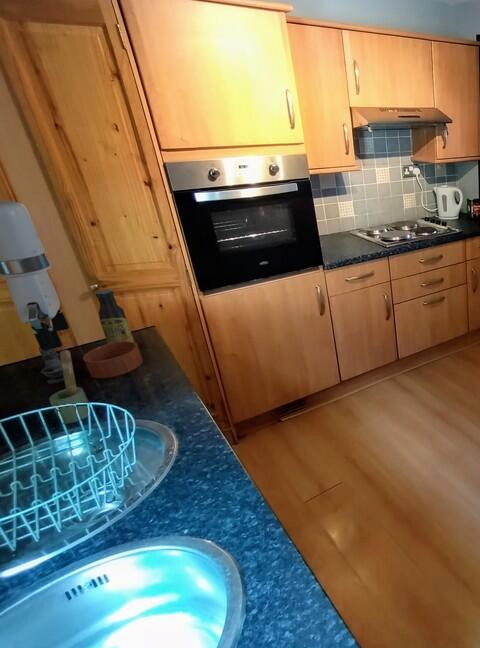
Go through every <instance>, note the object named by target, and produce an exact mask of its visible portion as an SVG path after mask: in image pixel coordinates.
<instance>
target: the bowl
mask: <svg viewBox="0 0 480 648" xmlns="http://www.w3.org/2000/svg"><path fill="white" fill-rule="evenodd" d="M82 361H83V363H84V365H85V368H86V370H87V372H88V374H89V376H90V377H91V378H95V379H107V378H108V379H109V378H114V377H118V376H122V375H124V374H127V373H130V372H131V371H134V370H135V369H137V368H138V367H141V365H142V363H144V357H143V356H142V353H141V350H140V348H139V345H138V343H137V342H135V341H134V342H132V341H121V342H114V343H110V344H108V343H106V344H103V345H100V346H97V347H95V348H93V349H91V350H89V351H88V352H86V353H85V354H84V355H83V356H82Z"/></svg>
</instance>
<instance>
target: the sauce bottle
mask: <svg viewBox="0 0 480 648" xmlns="http://www.w3.org/2000/svg"><path fill="white" fill-rule="evenodd" d="M95 296H96V298H97V299H98V303H99V309H98V317H99V318H98V319H99V323H100V325H101V329H102V331H103V334H104V337H105V340H106V342H107V343H106V344H110V343H114V342H121V341H132V342H135V339H134V337H133V334H132V331H131V328H130V325H129V321H128V318H127V316H126V314H125V311H124V309H123V307H121V306H120V305H118V303H117V301H116V298H115V292H114V290H113V289H111V288H105V289H100V290H97V291H96V292H95Z"/></svg>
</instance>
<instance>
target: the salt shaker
mask: <svg viewBox="0 0 480 648" xmlns="http://www.w3.org/2000/svg"><path fill="white" fill-rule="evenodd" d="M38 351H39V353H40V355H41V357H40V359H41V360H43V362H44V364H45V365H44V366H45V367H44V368H42V369H41V370H40V373H41V374H43V375H44V376H45V377H46V378H49V379H47V383H48V384H50V385H51V384H59V383H62V382H65V380H64V375H63V370H62V364H61V359H60V357H59V353H58V352H56V350H55V348H53V349H48V350H41V348H40V346H39V345H38Z"/></svg>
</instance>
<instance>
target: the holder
mask: <svg viewBox="0 0 480 648" xmlns="http://www.w3.org/2000/svg"><path fill="white" fill-rule="evenodd" d="M76 388H77V393H75V394H74V395H72V396H70V397H68V396H67V391H66V388H64V389H61V390H59V391H57V392H55V393H53V394H52V395H50V396H49V398H48V401H49V402H50V404H51V407H52V406H59V405H66V404H76V403H89V404H90V401H89V399H88V397H87V395H86V393H85V391H84V389H83V387H81V386H76ZM53 410H54V413H55V414H56V417H57V419H58V420H59V417H58V411H59V412H60V414H61V416H62V418H63V420H64V422H65V423H64V424H73V423H76V422H77V423H78V422H79V421H78V419H77V415H76V407H75V406H69V407H62V408H60V409H59V410H57V409H53ZM77 410H78V413H79V415H80V417H81V419H82V420H85V419H86V418H87V417H89V416H88V408H87V406H78V407H77ZM59 422H60V420H59Z"/></svg>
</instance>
